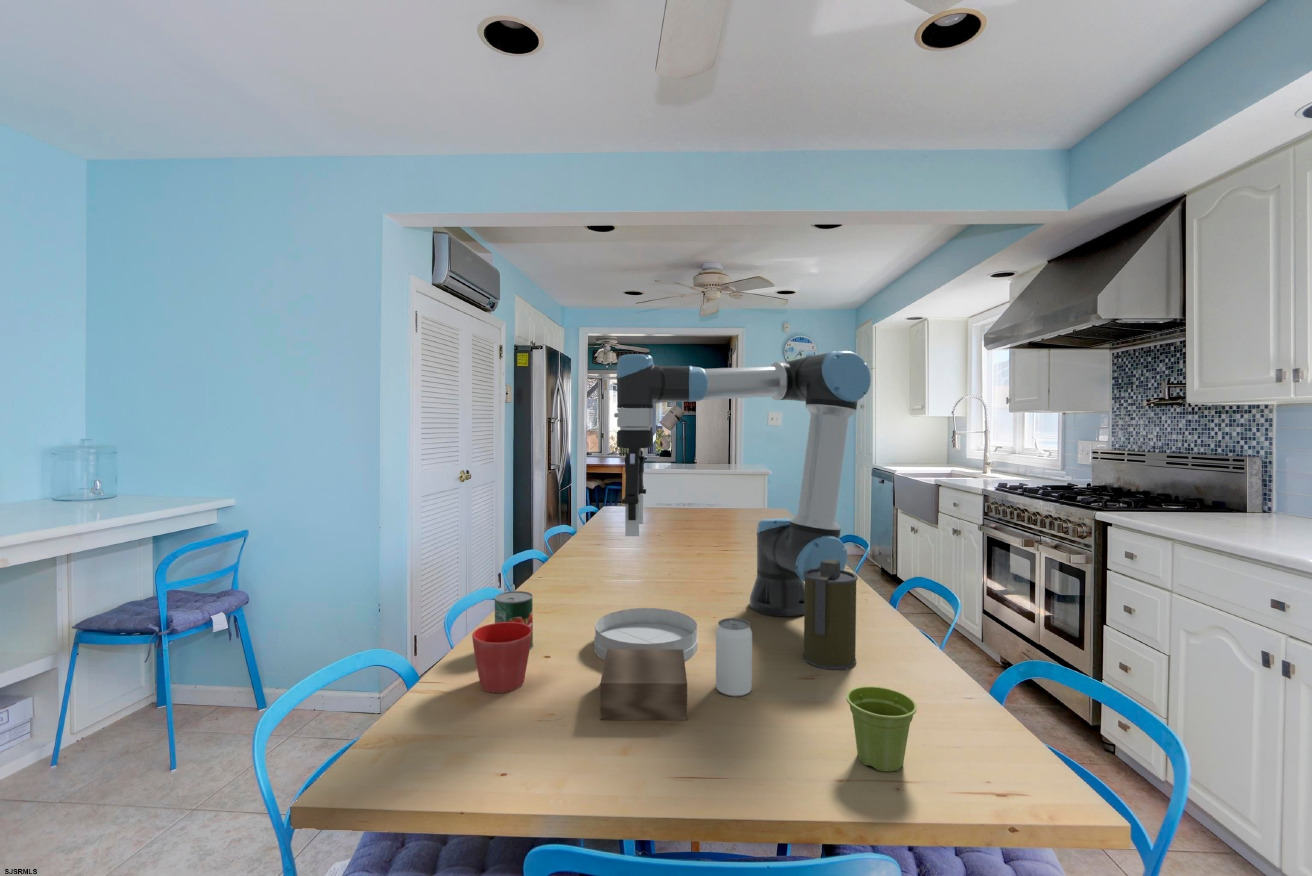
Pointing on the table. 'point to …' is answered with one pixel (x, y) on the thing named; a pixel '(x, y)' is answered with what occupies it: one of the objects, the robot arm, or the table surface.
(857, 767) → the table surface
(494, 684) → the flower pot
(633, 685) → the walnut base
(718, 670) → the can
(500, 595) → the canned tomato
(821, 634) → the canister
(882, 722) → the plant pot
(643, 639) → the dish
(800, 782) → the table surface
